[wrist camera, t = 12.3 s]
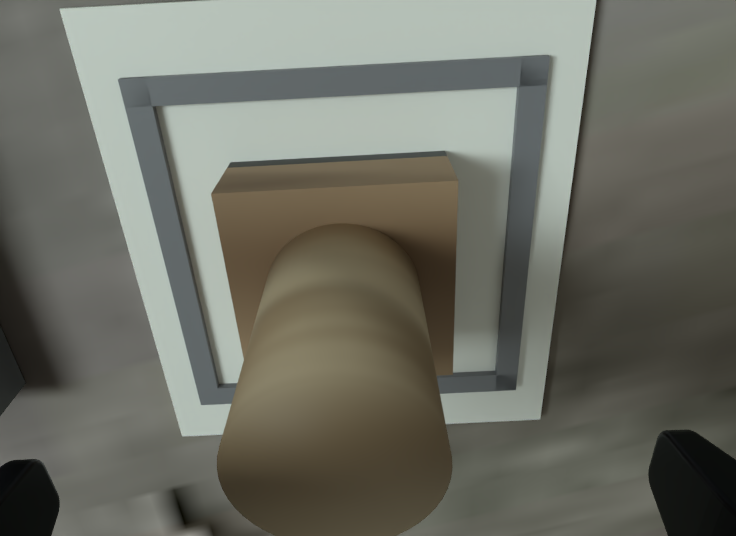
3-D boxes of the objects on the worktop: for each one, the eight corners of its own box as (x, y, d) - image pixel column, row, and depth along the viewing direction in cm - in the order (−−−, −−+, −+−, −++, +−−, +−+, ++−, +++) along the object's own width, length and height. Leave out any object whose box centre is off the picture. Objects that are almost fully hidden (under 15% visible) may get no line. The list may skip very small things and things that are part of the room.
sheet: (538, 414, 17) (542, 424, 17) (184, 431, 17) (180, 441, 17) (595, -22, 12) (603, -21, 11) (63, 8, 12) (55, 9, 11)
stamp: (442, 327, 15) (497, 570, 9) (261, 336, 16) (197, 584, 9) (445, 150, 13) (521, 321, 7) (230, 162, 13) (118, 342, 7)
